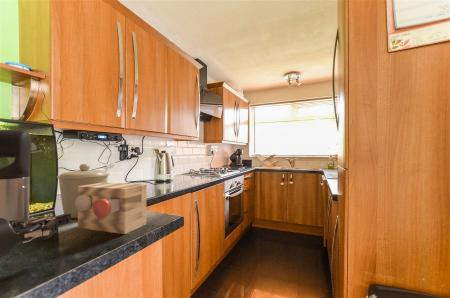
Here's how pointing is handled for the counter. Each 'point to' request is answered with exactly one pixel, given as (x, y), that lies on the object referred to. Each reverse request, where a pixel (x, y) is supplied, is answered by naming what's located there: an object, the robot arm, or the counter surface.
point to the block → (120, 220)
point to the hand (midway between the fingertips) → (68, 217)
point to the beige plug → (83, 202)
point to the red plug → (106, 206)
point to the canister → (71, 183)
